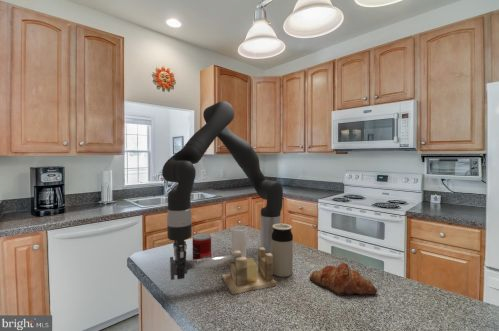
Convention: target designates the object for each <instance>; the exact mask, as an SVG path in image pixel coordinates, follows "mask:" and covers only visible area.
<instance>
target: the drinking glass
mask: <svg viewBox="0 0 499 331" xmlns="http://www.w3.org/2000/svg"><path fill="white" fill-rule="evenodd" d="M230 243H231V252H232V251H240V252H241V257H246V258H247V247H248V227H247V226H242V225H238V226H237V225H236V226H233V227H231V228H230Z"/></svg>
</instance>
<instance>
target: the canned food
mask: <svg viewBox="0 0 499 331" xmlns="http://www.w3.org/2000/svg"><path fill="white" fill-rule="evenodd" d="M210 257H212V235H211V234H210V233H207V232H205V233H204V232H202V233H197V234H194V235H193V236H192V260H196V259H203V258H210Z"/></svg>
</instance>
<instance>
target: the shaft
mask: <svg viewBox="0 0 499 331" xmlns="http://www.w3.org/2000/svg"><path fill="white" fill-rule="evenodd" d="M235 258H240V254H239V253H238V254H231V255H230V254H226V255H218V256H211V257H210V258H203V259H196V260H193V259H191V260H186V267H184V270H185V275H187V274H188V272H189V271H195V270H200V269H201V270H202V269H207V268H212V267H213V268H214V267H220V266H226V265H227V266H228V265H230V264H233V263H235ZM180 263H183V262H180ZM176 265H177V261H176V260H175V258H174V257H173V256H170V257H169V276H170V281H174V280H175V276H177V267H176Z"/></svg>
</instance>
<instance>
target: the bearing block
mask: <svg viewBox="0 0 499 331" xmlns="http://www.w3.org/2000/svg"><path fill="white" fill-rule="evenodd" d="M257 251H258V252H257V255H258V256H257V262H258V263H257V281H255V282H249V283H247V258H248V257H247V256H246V257H241V252H240V251H232V250H231V251H230V252H229V255H231V254H238V253H239V254H240V258H235V263H233V264H229V265H230V266H229V269H230V273H228V272H227V273H223V274H222V275H221V278H222V280H223V282H224V284H225V285H226V287H227V289H228V290H229V292H230V295H234V294H235V295H236V294H240V293H245V292H251V291H256V290H261V289H265V288H271V287H275V286H277V281H276V280H275V279H274V278H273V276H274V274H273V255H272V254H271V253H266V254H265V248H263V247H261V246H260V247H258V248H257Z"/></svg>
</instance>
